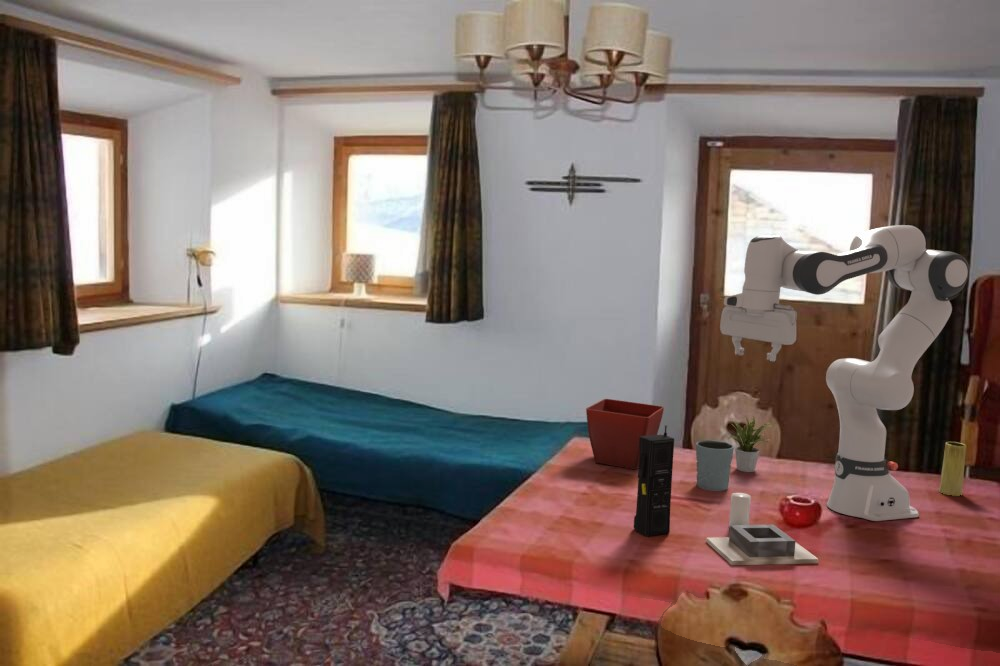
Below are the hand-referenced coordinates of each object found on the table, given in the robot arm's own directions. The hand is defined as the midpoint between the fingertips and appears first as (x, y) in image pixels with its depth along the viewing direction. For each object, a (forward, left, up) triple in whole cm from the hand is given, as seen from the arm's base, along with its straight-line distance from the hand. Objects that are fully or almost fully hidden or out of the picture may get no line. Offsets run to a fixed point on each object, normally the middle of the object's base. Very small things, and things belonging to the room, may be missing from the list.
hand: (754, 357), depth 224 cm
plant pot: (+16, -50, -40) cm, 66 cm away
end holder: (+7, +24, -40) cm, 47 cm away
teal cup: (-2, -25, -40) cm, 47 cm away
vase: (-70, -17, -40) cm, 83 cm away
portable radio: (+28, +10, -40) cm, 50 cm away
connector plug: (+5, +8, -40) cm, 41 cm away
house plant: (-20, -40, -40) cm, 60 cm away
